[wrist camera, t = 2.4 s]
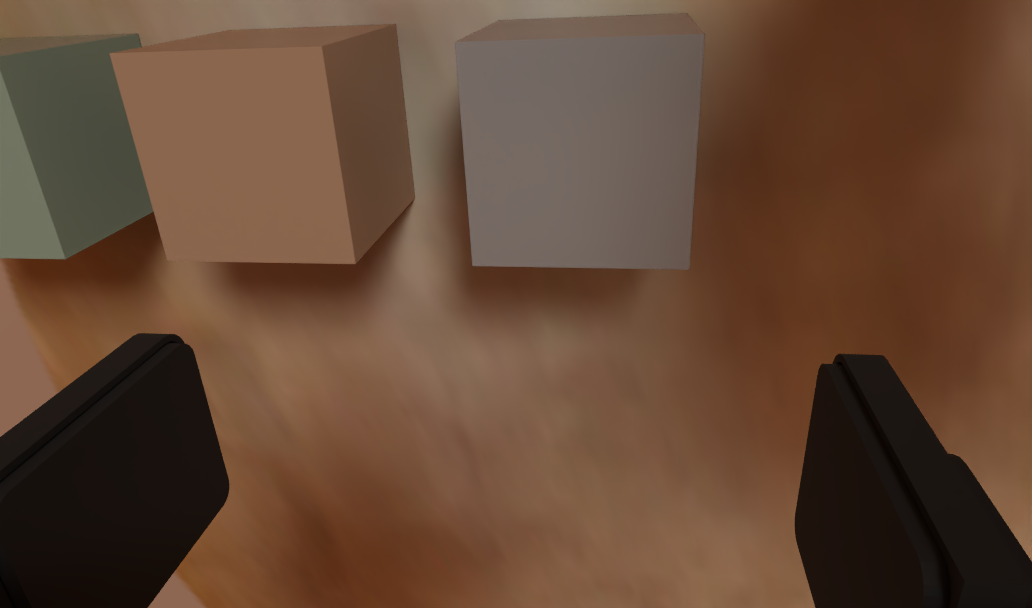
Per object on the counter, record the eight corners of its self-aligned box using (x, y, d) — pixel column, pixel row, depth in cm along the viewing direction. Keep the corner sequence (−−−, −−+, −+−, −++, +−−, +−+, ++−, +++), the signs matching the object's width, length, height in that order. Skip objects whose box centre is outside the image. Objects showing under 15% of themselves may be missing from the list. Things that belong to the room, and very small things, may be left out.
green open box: (-11, 39, 33) (-188, 63, 26) (137, 33, 32) (-5, 57, 25) (43, 197, 36) (-100, 256, 29) (180, 197, 35) (65, 259, 28)
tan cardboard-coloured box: (228, 30, 31) (109, 53, 24) (395, 23, 30) (321, 46, 23) (263, 197, 35) (167, 260, 27) (415, 197, 33) (355, 264, 26)
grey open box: (498, 20, 29) (454, 42, 22) (687, 13, 28) (704, 34, 21) (507, 197, 33) (472, 266, 26) (677, 198, 32) (689, 269, 24)
